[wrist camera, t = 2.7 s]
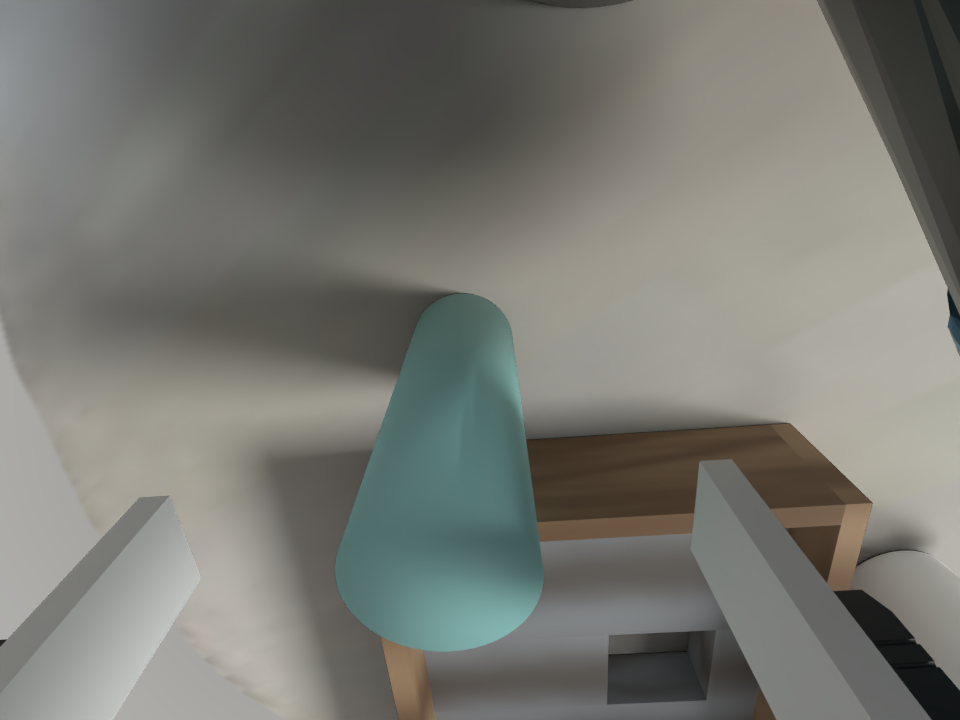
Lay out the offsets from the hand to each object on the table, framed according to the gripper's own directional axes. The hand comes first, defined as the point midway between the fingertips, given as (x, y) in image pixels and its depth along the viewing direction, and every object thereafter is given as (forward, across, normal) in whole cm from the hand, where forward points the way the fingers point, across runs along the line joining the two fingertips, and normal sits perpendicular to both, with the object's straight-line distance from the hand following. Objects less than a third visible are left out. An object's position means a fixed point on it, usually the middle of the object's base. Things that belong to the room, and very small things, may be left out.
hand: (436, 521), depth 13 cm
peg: (+12, 0, 0) cm, 12 cm away
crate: (+12, +6, -17) cm, 22 cm away
